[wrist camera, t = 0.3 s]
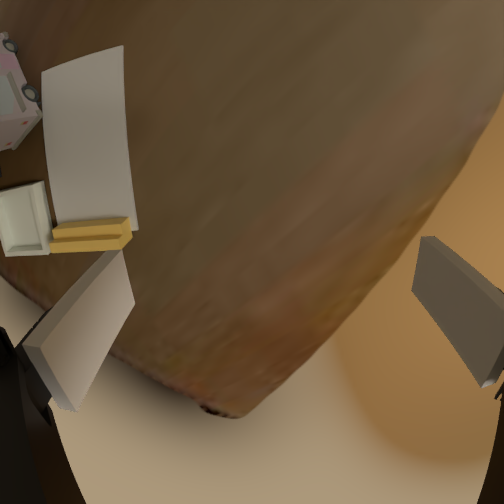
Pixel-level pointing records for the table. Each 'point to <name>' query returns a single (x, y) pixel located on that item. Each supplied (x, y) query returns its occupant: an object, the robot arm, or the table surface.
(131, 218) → the mat
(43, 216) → the tray
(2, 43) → the toy vehicle
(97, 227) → the block
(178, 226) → the table surface
